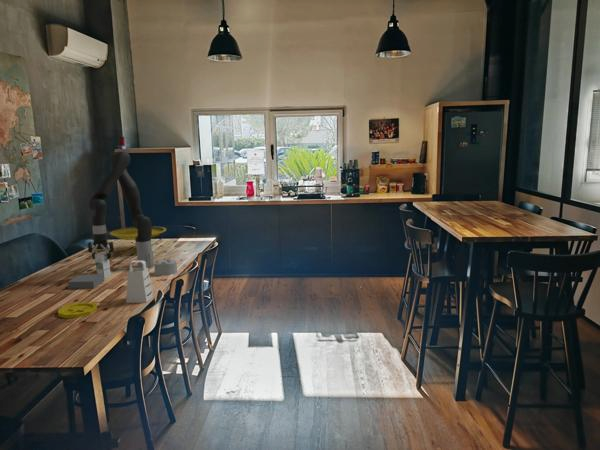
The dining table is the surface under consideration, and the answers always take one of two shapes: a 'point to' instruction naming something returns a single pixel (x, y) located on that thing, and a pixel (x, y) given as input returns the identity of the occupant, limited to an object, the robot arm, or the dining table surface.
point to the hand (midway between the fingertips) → (101, 259)
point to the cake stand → (134, 234)
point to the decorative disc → (77, 310)
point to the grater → (138, 284)
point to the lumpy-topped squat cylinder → (165, 267)
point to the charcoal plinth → (86, 281)
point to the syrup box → (102, 264)
